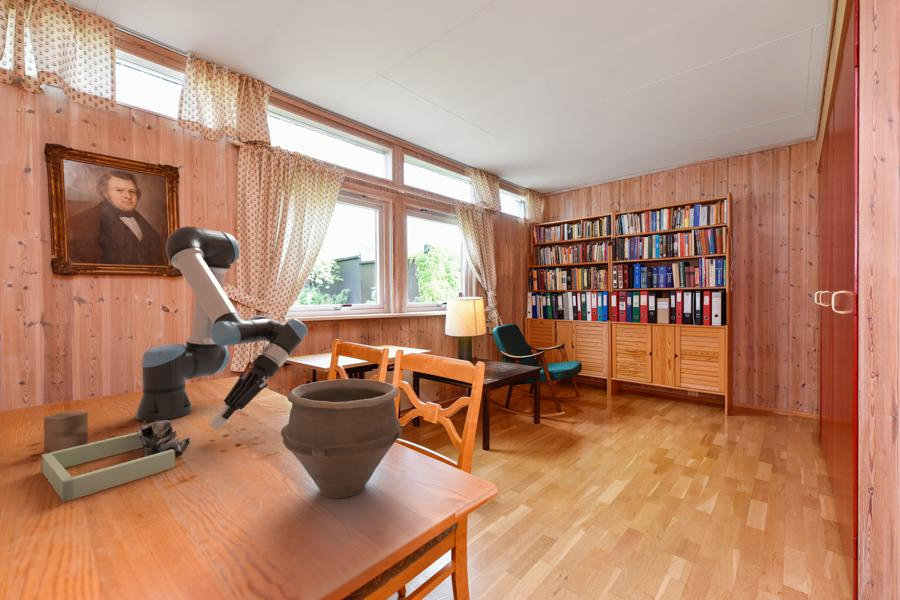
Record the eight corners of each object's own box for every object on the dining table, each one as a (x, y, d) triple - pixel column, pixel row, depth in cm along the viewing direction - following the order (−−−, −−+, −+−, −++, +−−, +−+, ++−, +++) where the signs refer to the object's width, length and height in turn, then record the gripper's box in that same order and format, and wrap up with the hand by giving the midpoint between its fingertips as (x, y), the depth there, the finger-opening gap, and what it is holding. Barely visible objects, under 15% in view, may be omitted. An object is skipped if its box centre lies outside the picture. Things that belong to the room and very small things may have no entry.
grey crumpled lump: (115, 455, 91) (141, 406, 103) (131, 481, 97) (155, 431, 108) (171, 448, 93) (191, 401, 105) (184, 474, 99) (201, 426, 111)
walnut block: (72, 442, 106) (72, 410, 106) (87, 445, 104) (87, 412, 104) (44, 451, 100) (43, 417, 100) (60, 454, 98) (59, 419, 98)
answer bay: (142, 445, 104) (142, 430, 104) (174, 467, 92) (174, 450, 91) (41, 471, 89) (41, 454, 89) (63, 502, 76) (63, 482, 76)
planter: (271, 480, 86) (270, 382, 85) (371, 454, 100) (371, 369, 99) (302, 538, 65) (300, 410, 65) (422, 495, 80) (421, 389, 79)
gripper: (250, 351, 123) (192, 416, 110) (273, 355, 116) (214, 425, 103) (266, 365, 128) (212, 429, 114) (289, 370, 120) (234, 439, 107)
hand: (213, 427), depth 108 cm, fingers closed
